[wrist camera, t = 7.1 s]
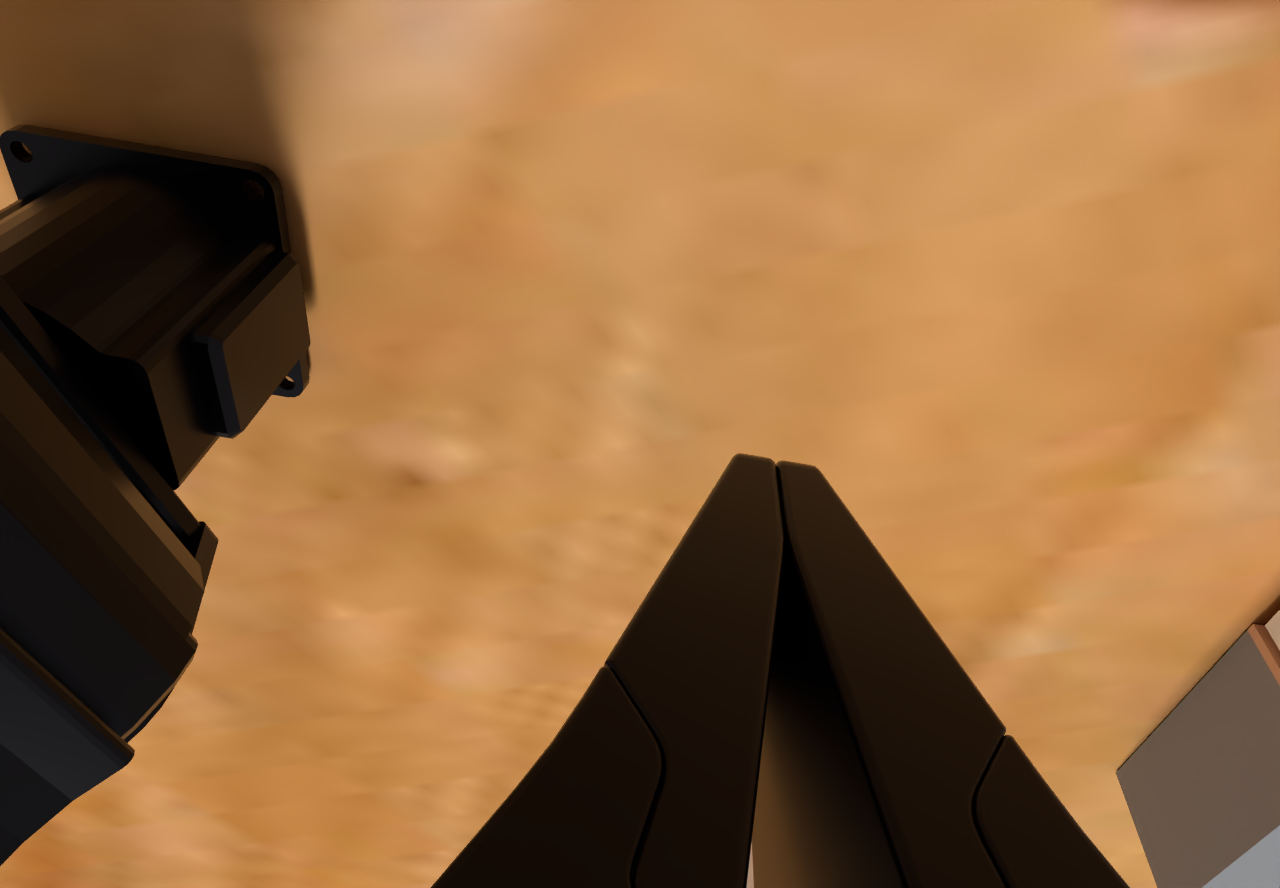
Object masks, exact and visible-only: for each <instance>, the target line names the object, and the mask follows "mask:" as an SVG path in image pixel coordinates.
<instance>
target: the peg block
mask: <svg viewBox="0 0 1280 888" xmlns="http://www.w3.org/2000/svg"><path fill="white" fill-rule="evenodd" d="M1265 627H1266V628H1267V630H1268V632H1269V633H1270V635H1271V637H1272V638H1273V640H1274V642H1275V643H1276V645H1277V647H1278V648H1279V650H1280V610H1279V611H1278V612H1277V613H1276V614H1275V615H1274V616H1273V617H1272V618H1271V619H1270V620H1269V621H1268V623H1267V624H1266V625H1265Z"/></svg>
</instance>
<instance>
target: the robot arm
mask: <svg viewBox="0 0 1280 888" xmlns="http://www.w3.org/2000/svg"><path fill="white" fill-rule="evenodd" d="M22 143H24V144H25V145H26V146H27V147H28V148H29V149H30V151H31V152H32V155H30V154H29V153H28V152H27V151H26V150H25V149H24V147H23V145H22ZM0 149H1V152H2V155H3V158H4V160H5V163H6V166H7V169H8V172H9V175H10V177H11V180H12V183H13V186H14V189H15V192H16V194H17V197H18V201H16V202H14V203H13V204H11V205H9V206H7V207H6V208H4V209H2V210H0V866H1V865H2V864H3V863H4V862H5V861H6V860H7V859H8V858H9V857H10V856H11V855H12V854H13V852H14V851H15V850H16V849H17V848H18V847H19V846H20V845H21V844H22V843H23V842H24V841H26V840H27V839H28V838H29V837H30V836H32V835H33V834H34V833H35V832H36V831H37V830H39V829H40V828H41V827H42V826H43V825H45V824H46V823H47V822H48V821H49V820H51V819H52V818H53V817H54V816H55V815H56V814H58V813H59V812H60V811H61V810H62V809H64V808H65V807H66V806H67V805H68V804H69V803H71V802H72V801H73V800H75V799H76V798H78V797H79V796H81V795H82V794H84V793H85V792H87V791H88V790H90V789H91V788H93V787H95V786H96V785H98V784H99V783H101V782H102V781H104V780H105V779H107V778H108V777H110V776H111V775H113V774H114V773H116V772H117V771H119V770H120V769H122V768H123V767H125V766H126V765H127V764H128V763H129V762H130V761H131V760H132V758H133V756H134V752H135V750H134V749H133V748H132V747H131V746H130V745H129V744H128V742H129V741H130V740H131V739H132V738H133V737H134V736H135V735H136V734H138V733H139V732H140V731H141V730H142V729H143V728H144V727H145V726H146V725H147V723H148V722H149V721H150V720H151V719H152V718H153V716H154V715H155V714H156V713H157V712H158V711H159V709H160V708H161V707H162V706H163V704H164V703H165V701H166V699H167V698H168V696H169V695H170V693H171V692H172V690H173V689H174V687H175V685H176V684H177V682H178V681H179V679H180V678H181V676H182V675H183V673H184V672H185V670H186V669H187V667H188V666H189V664H190V663H191V661H192V660H193V657H194V654H195V652H196V649H197V646H198V643H197V640H196V639H195V638H194V637H193V636H192V632H193V628H194V625H195V621H196V618H197V614H198V611H199V607H200V604H201V600H202V597H203V594H204V590H205V586H206V583H207V579H208V576H209V572H210V569H211V565H212V562H213V558H214V555H215V551H216V548H217V544H218V538H217V537H216V536H215V535H214V533H213V532H212V531H211V530H210V528H209V527H208V526H207V525H206V523H205V522H198V521H197V520H196V518H195V517H194V516H193V515H192V513H191V512H190V511H189V510H188V508H187V507H186V506H185V504H184V503H183V502H182V501H181V499H180V498H179V497H178V496H177V494H176V493H175V492H174V491H173V490H176V489H177V488H178V487H179V486H180V485H181V484H182V483H183V481H184V480H185V479H186V478H187V476H188V475H189V474H190V473H191V471H192V470H193V469H194V468H195V467H196V465H197V464H198V463H199V462H200V460H201V459H202V458H203V457H204V455H205V454H206V453H207V452H208V450H209V449H210V448H211V447H212V445H213V444H214V443H215V442H216V441H217V439H218V438H219V437H225V438H231V439H233V438H235V437H236V436H237V435H238V434H240V433H241V432H242V431H244V429H245V428H246V427H247V426H248V424H249V423H250V422H251V420H252V419H253V418H254V417H255V415H256V414H257V413H258V411H259V410H260V409H261V408H262V406H263V405H264V404H265V403H266V401H267V400H268V399H269V397H270V396H271V395H278V396H284V397H296V396H299V395H300V394H301V393H302V391H303V390H304V389H305V387H306V386H307V385H308V383H309V371H308V364H307V357H306V350H307V349H308V347H309V346H310V336H309V329H308V322H307V315H306V307H305V300H304V293H303V286H302V279H301V272H300V265H299V263H298V261H297V260H296V258H295V257H294V255H293V254H291V248H290V241H289V234H288V227H287V220H286V213H285V206H284V200H283V193H282V187H281V184H280V181H279V179H278V178H277V176H276V175H275V174H274V172H273V171H271V170H270V169H269V168H267V167H266V166H263V165H260V164H257V163H251V162H245V161H239V160H233V159H227V158H221V157H215V156H209V155H203V154H197V153H191V152H185V151H179V150H173V149H167V148H161V147H155V146H149V145H143V144H137V143H131V142H125V141H119V140H113V139H107V138H101V137H95V136H89V135H83V134H77V133H71V132H65V131H59V130H53V129H47V128H41V127H35V126H29V125H18V126H16V127H14V128H11V129H9V130H7V131H5V132H4V133H3V134H1V136H0ZM250 180H253V181H255V182H257V183H258V184H259V185H260V186H261V187H262V189H263V191H264V195H262V194H260V193H257V192H256V191H255V190H254V189H253V188H252V185H251V183H250ZM286 376H289V377H290V378H291V379H292V380H293V381H294V382H292V381H289V380H287V379H286V378H285V377H286ZM1005 732H1006V728H1005V726H1004V725H1003V723H1002V722H1001V720H1000V719H999V718H998V716H997V715H996V714H995V712H994V711H993V709H992V708H991V707H990V705H989V704H988V702H987V701H986V700H985V698H984V697H983V696H982V694H981V693H980V691H979V690H978V689H977V687H976V686H975V684H974V683H973V682H972V680H971V679H970V678H969V676H968V675H967V673H966V672H965V671H964V669H963V668H962V666H961V665H960V664H959V662H958V661H957V660H956V658H955V657H954V655H953V654H952V653H951V651H950V650H949V648H948V647H947V646H946V644H945V643H944V642H943V640H942V639H941V637H940V636H939V635H938V633H937V632H936V631H935V629H934V628H933V626H932V625H931V624H930V622H929V621H928V619H927V618H926V617H925V615H924V614H923V613H922V611H921V610H920V608H919V607H918V606H917V604H916V603H915V601H914V600H913V599H912V597H911V596H910V595H909V593H908V592H907V590H906V589H905V588H904V586H903V585H902V583H901V582H900V581H899V579H898V578H897V577H896V575H895V574H894V572H893V571H892V570H891V568H890V567H889V565H888V564H887V563H886V561H885V560H884V559H883V557H882V556H881V554H880V553H879V552H878V550H877V549H876V547H875V546H874V545H873V543H872V542H871V541H870V539H869V538H868V536H867V535H866V534H865V532H864V531H863V529H862V528H861V527H860V525H859V524H858V523H857V521H856V520H855V518H854V517H853V516H852V514H851V513H850V512H849V510H848V509H847V507H846V506H845V505H844V503H843V502H842V500H841V499H840V498H839V496H838V495H837V494H836V492H835V491H834V489H833V488H832V487H831V485H830V484H829V482H828V481H827V480H826V478H825V477H824V476H823V474H822V473H821V471H820V470H819V469H818V468H816V467H815V466H812V465H807V464H801V463H795V462H789V461H779V462H778V463H776V465H775V462H774V461H773V460H771V459H770V458H765V457H759V456H753V455H748V454H742V453H741V454H736V455H735V456H734V457H733V458H732V460H731V461H730V463H729V464H728V466H727V468H726V469H725V471H724V472H723V474H722V476H721V477H720V479H719V480H718V482H717V484H716V485H715V487H714V488H713V490H712V492H711V493H710V495H709V496H708V498H707V500H706V501H705V503H704V504H703V506H702V508H701V509H700V511H699V512H698V514H697V516H696V517H695V519H694V520H693V522H692V524H691V525H690V527H689V528H688V530H687V532H686V533H685V535H684V536H683V538H682V540H681V541H680V543H679V544H678V546H677V548H676V549H675V551H674V552H673V554H672V556H671V557H670V559H669V560H668V562H667V564H666V565H665V567H664V568H663V570H662V572H661V573H660V575H659V576H658V578H657V580H656V581H655V583H654V584H653V586H652V588H651V589H650V591H649V592H648V594H647V596H646V597H645V599H644V600H643V602H642V604H641V605H640V607H639V608H638V610H637V612H636V613H635V615H634V616H633V618H632V620H631V621H630V623H629V624H628V626H627V628H626V629H625V631H624V632H623V634H622V636H621V637H620V639H619V640H618V642H617V644H616V645H615V647H614V648H613V650H612V652H611V653H610V655H609V656H608V658H607V660H606V661H605V665H604V667H602V668H601V669H600V670H599V672H598V673H597V675H596V676H595V678H594V679H593V681H592V683H591V684H590V686H589V687H588V689H587V691H586V692H585V694H584V695H583V697H582V698H581V700H580V701H579V703H578V704H577V706H576V707H575V709H574V710H573V712H572V713H571V715H570V716H569V718H568V719H567V720H566V722H565V723H564V725H563V726H562V728H561V729H560V731H559V732H558V734H557V735H556V737H555V738H554V740H553V741H552V742H551V744H550V745H549V746H548V747H547V749H546V750H545V751H544V752H543V754H542V755H541V756H540V758H539V759H538V760H537V761H536V763H535V764H534V765H533V766H532V768H531V769H530V770H529V772H528V773H527V774H526V775H525V777H524V778H523V779H522V780H521V782H520V783H519V784H518V785H517V787H516V788H515V789H514V790H513V792H512V793H511V794H510V795H509V796H508V798H507V799H506V800H505V801H504V802H503V803H502V805H501V806H500V807H499V808H498V809H497V810H496V812H495V813H494V814H493V815H492V816H491V817H490V819H489V820H488V821H487V822H486V823H485V825H484V826H483V827H482V828H481V829H480V830H479V832H478V833H477V834H476V835H475V836H474V837H473V839H472V840H471V841H470V842H469V843H468V845H467V846H466V847H465V848H464V849H463V850H462V852H461V853H460V854H459V855H458V856H457V857H456V859H455V860H454V861H453V862H452V863H451V864H450V866H449V867H448V868H447V869H446V870H445V872H444V873H443V874H442V875H441V876H440V877H439V879H438V880H437V881H436V882H435V883H434V884H433V886H432V887H431V888H746V887H747V878H748V869H749V861H750V852H751V843H752V857H753V879H754V888H1130V887H1129V886H1128V885H1127V884H1126V882H1125V881H1124V880H1123V879H1122V878H1121V876H1120V875H1119V874H1118V873H1117V872H1116V870H1115V869H1114V868H1113V867H1112V865H1111V864H1110V863H1109V862H1108V861H1107V859H1106V858H1105V857H1104V856H1103V855H1102V853H1101V852H1100V851H1099V850H1098V849H1097V847H1096V846H1095V845H1094V844H1093V842H1092V841H1091V840H1090V839H1089V838H1088V836H1087V835H1086V834H1085V833H1084V832H1083V830H1082V829H1081V828H1080V826H1079V825H1078V824H1077V823H1076V821H1075V820H1074V819H1073V817H1072V816H1071V815H1070V813H1069V812H1068V811H1067V809H1066V808H1065V807H1064V805H1063V804H1062V803H1061V801H1060V800H1059V799H1058V797H1057V796H1056V795H1055V794H1054V792H1053V791H1052V790H1051V788H1050V787H1049V786H1048V784H1047V783H1046V782H1045V780H1044V779H1043V778H1042V776H1041V775H1040V774H1039V772H1038V771H1037V770H1036V768H1035V767H1034V766H1033V764H1032V763H1031V761H1030V760H1029V759H1028V757H1027V756H1026V754H1025V753H1024V752H1023V750H1022V749H1021V748H1020V746H1019V745H1018V743H1017V742H1016V741H1015V739H1014V738H1013V737H1012V736H1010V735H1005ZM1004 735H1005V736H1004Z"/></svg>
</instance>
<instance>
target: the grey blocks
mask: <svg viewBox="0 0 1280 888" xmlns="http://www.w3.org/2000/svg"><path fill="white" fill-rule="evenodd" d="M1116 774H1117V777H1118V780H1119V783H1120V785H1121V788H1122V791H1123V794H1124V796H1125V799H1126V802H1127V805H1128V807H1129V810H1130V813H1131V816H1132V818H1133V821H1134V824H1135V827H1136V830H1137V832H1138V835H1139V838H1140V841H1141V843H1142V846H1143V849H1144V852H1145V854H1146V857H1147V860H1148V863H1149V865H1150V868H1151V871H1152V874H1153V876H1154V879H1155V882H1156V885H1157V887H1158V888H1280V650H1279V648H1278V647H1277V645H1276V643H1275V642H1274V640H1273V638H1272V637H1271V635H1270V633H1269V632H1268V630H1267V628H1266V627H1265V626H1263V625H1257V624H1252V625H1251V627H1250V628H1249V629H1248V630H1247V631H1246V632H1245V633H1244V634H1243V635H1242V636H1241V637H1240V638H1239V640H1238V641H1237V642H1236V643H1235V644H1234V645H1233V646H1232V647H1231V648H1230V649H1229V650H1228V652H1227V653H1226V654H1225V655H1224V656H1223V657H1222V658H1221V659H1220V660H1219V661H1218V662H1217V663H1216V665H1215V666H1214V667H1213V668H1212V669H1211V670H1210V671H1209V672H1208V673H1207V674H1206V675H1205V677H1204V678H1203V679H1202V680H1201V681H1200V682H1199V683H1198V684H1197V685H1196V686H1195V687H1194V688H1193V690H1192V691H1191V692H1190V693H1189V694H1188V695H1187V696H1186V697H1185V698H1184V699H1183V700H1182V702H1181V703H1180V704H1179V705H1178V706H1177V707H1176V708H1175V709H1174V710H1173V711H1172V712H1171V713H1170V715H1169V716H1168V717H1167V718H1166V719H1165V720H1164V721H1163V722H1162V723H1161V724H1160V725H1159V727H1158V728H1157V729H1156V730H1155V731H1154V732H1153V733H1152V734H1151V735H1150V736H1149V737H1148V739H1147V740H1146V741H1145V742H1144V743H1143V744H1142V745H1141V746H1140V747H1139V748H1138V749H1137V750H1136V752H1135V753H1134V754H1133V755H1132V756H1131V757H1130V758H1129V759H1128V760H1127V761H1126V762H1125V764H1124V765H1123V766H1122V767H1121V768H1120V769H1119V770H1118V771H1117V772H1116Z"/></svg>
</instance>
